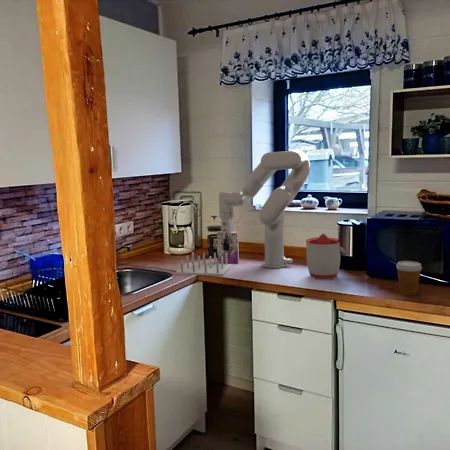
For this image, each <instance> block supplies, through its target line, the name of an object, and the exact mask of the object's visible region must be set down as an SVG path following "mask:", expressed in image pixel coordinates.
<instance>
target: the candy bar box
mask: <svg viewBox="0 0 450 450" xmlns="http://www.w3.org/2000/svg"><path fill="white" fill-rule="evenodd" d="M216 234H217V236H216V237H217V239H216V244H217V247H216V249H217V258H216V261H218V262H219V264H221V257H223V264H226V260H225V253H227V262H228V264H239V261H240V258H239V257H240V256H239V252H240V251H239V231H234V232H232V237H230V238H229V251H224V250H223V237H222V236H221V231H218V232H216ZM226 237H228V236H226ZM226 239H227V238H226Z"/></svg>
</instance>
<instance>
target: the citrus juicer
mask: <svg viewBox="0 0 450 450" xmlns="http://www.w3.org/2000/svg"><path fill="white" fill-rule="evenodd" d="M305 242H306V266H307V269H308V273H309V276H310V277H311V278H313V279H314V278H315V279H314V280H333V279H335V278H337V276H338V273H339V271H340V270H339V269H340V265H341V252H342V253H345V252H346V251H345V250H344V247H342V246H341V241H340V239H339V238H335V237H328V236H327V235H326V234H325V233H321V235H319V237H312V238H307V239H306V240H305Z"/></svg>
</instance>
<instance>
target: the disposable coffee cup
mask: <svg viewBox="0 0 450 450" xmlns="http://www.w3.org/2000/svg"><path fill="white" fill-rule="evenodd" d="M396 269H397V280H398V285H399V286H398V287H399V293H400V294H401V295H404V296H415V295H417V294H418V288H419V283H420V277H421V272H422V269H423V267H422V264H421V263H420V262H417V261H412V260H411V261H410V260H402V261H398V262H397V264H396Z"/></svg>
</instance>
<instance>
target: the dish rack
mask: <svg viewBox="0 0 450 450" xmlns="http://www.w3.org/2000/svg"><path fill="white" fill-rule="evenodd" d="M208 258H209V259H208V261H209V263H208V262H207V260H206V253H205V252H202V261H203V262H202V263H201V256H200V255H197V262H195V253H194V252H193V251H192V252H191V262H189V260H190V259H189V255H186V264H185V265H184V263H183V262H184V260H183V259H180V268H179V269H178V270H176V271H175V275H191V276H213V277H214V276H216V277H217V276H218V277H224V276H225V275H226V274H227V273H228V272H229V271H230V269H232V268H233V266H234V263H230V264H228V262H227V253H225V260H226V264H223V257H221V264H219V262H218V261H217V258H216V253H214V258H213V260H214V261H213V262H214V263H212V258H211V256H209V257H208Z"/></svg>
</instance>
